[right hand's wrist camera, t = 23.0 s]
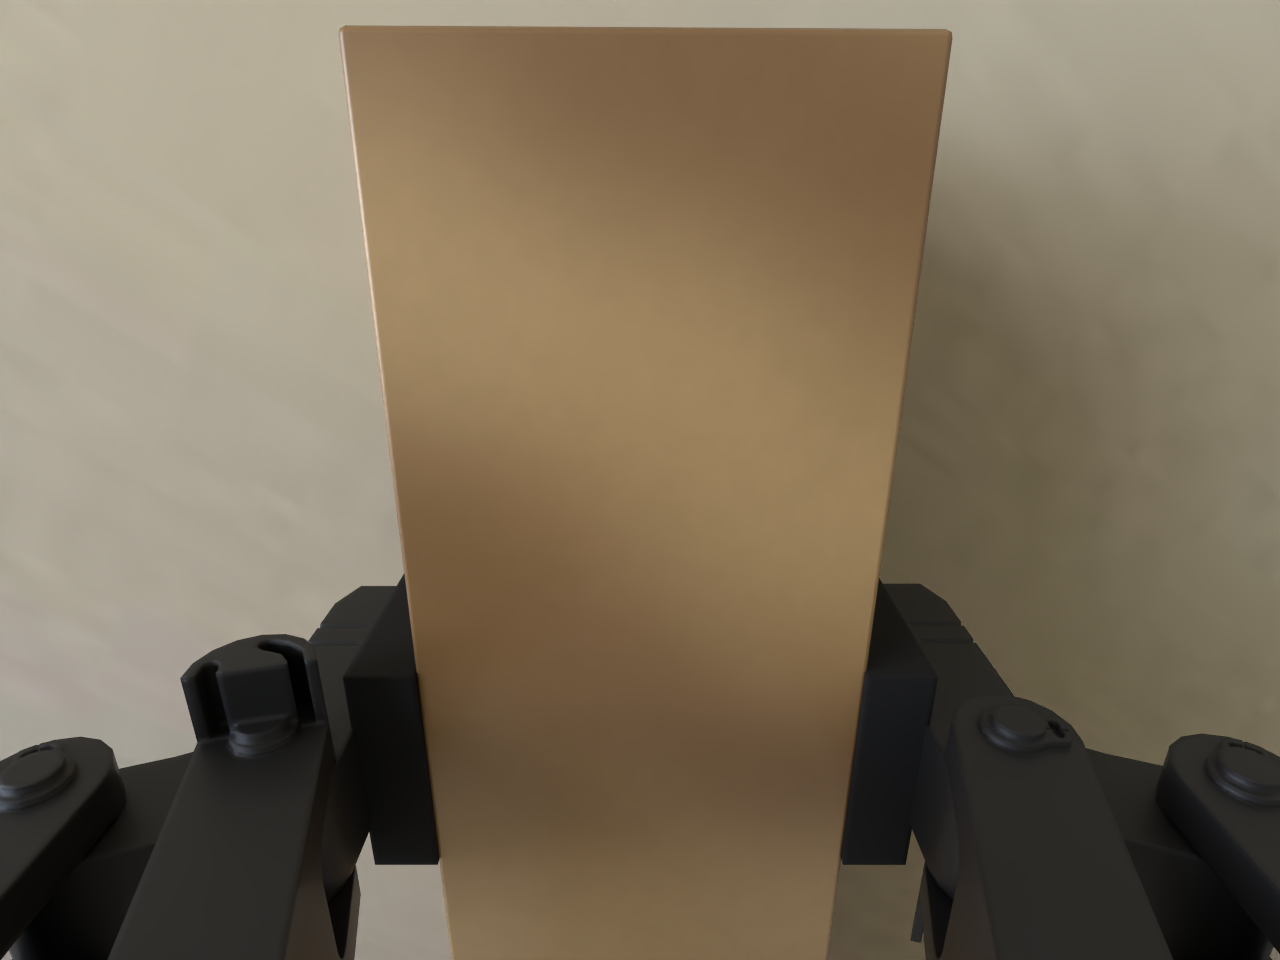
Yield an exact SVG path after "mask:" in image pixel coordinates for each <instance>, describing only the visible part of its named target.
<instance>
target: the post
mask: <svg viewBox="0 0 1280 960" xmlns="http://www.w3.org/2000/svg"><path fill="white" fill-rule="evenodd" d="M339 41H340V49H341V57H342V65H343V73H344V82H345V90H346V98H347V106H348V114H349V123H350V131H351V139H352V147H353V155H354V164H355V172H356V180H357V188H358V196H359V205H360V213H361V221H362V229H363V237H364V245H365V254H366V262H367V270H368V278H369V286H370V295H371V303H372V311H373V319H374V327H375V336H376V344H377V352H378V360H379V368H380V377H381V385H382V393H383V401H384V409H385V418H386V426H387V434H388V442H389V450H390V459H391V467H392V475H393V483H394V491H395V500H396V508H397V516H398V524H399V532H400V541H401V549H402V557H403V565H404V573H405V582H406V590H407V598H408V606H409V614H410V622H411V631H412V639H413V647H414V655H415V663H416V671H417V679H418V688H419V696H420V704H421V712H422V720H423V728H424V736H425V744H426V753H427V761H428V769H429V777H430V785H431V793H432V801H433V809H434V818H435V826H436V834H437V842H438V850H439V860H440V868H441V877H442V885H443V893H444V901H445V909H446V918H447V926H448V934H449V942H450V950H451V958H452V960H827V957H828V950H829V943H830V935H831V928H832V921H833V913H834V906H835V898H836V891H837V884H838V876H839V869H840V862H841V853H842V846H843V838H844V831H845V823H846V816H847V809H848V801H849V794H850V786H851V778H852V771H853V763H854V755H855V748H856V740H857V732H858V725H859V717H860V709H861V701H862V694H863V686H864V678H865V671H866V670H867V663H868V655H869V648H870V641H871V633H872V626H873V619H874V611H875V604H876V597H877V589H878V582H879V574H880V567H881V560H882V552H883V545H884V538H885V530H886V523H887V516H888V508H889V501H890V493H891V486H892V479H893V471H894V464H895V457H896V449H897V442H898V435H899V427H900V420H901V412H902V405H903V398H904V390H905V383H906V376H907V368H908V361H909V354H910V346H911V339H912V331H913V324H914V317H915V309H916V302H917V295H918V287H919V280H920V273H921V265H922V258H923V250H924V243H925V236H926V228H927V221H928V214H929V206H930V199H931V192H932V184H933V177H934V169H935V162H936V155H937V147H938V140H939V133H940V125H941V118H942V111H943V103H944V96H945V88H946V81H947V74H948V66H949V59H950V52H951V44H952V33H951V32H950V31H948V30H946V29H831V28H666V27H500V26H344V27H342V28H340V30H339Z"/></svg>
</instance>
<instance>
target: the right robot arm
mask: <svg viewBox="0 0 1280 960" xmlns="http://www.w3.org/2000/svg"><path fill="white" fill-rule="evenodd" d="M320 625H321V626H320V628H317V630H316V631H315V633H314V634H313V635H312V637H311V638H310V640H309V641H306V640H305V639H304V638H299V637H295V636H291V635H287V634H277V635H260V636H255V637H251V638H246V639H242V640H237V641H235V642H232V643H230V644H227V645H225V646H222V647H220V648H217V649H215V650H212V651H211V652H209V653H208V654H206V655H205V656H203V657H202V658H200V659H199V660H197V661H196V662H194V663H193V664H192V665H191V666H190V667H189V669H188V670H187V671H186V672H185V673H184V675H183V676H182V677H181V678H180V679H181V683H182V686H183V690H184V694H185V698H186V701H187V705H188V709H189V712H190V716H191V720H192V724H193V727H194V731H195V735H196V738H197V742H198V743H197V745H196V747H195V750H194V752H191V753H188V754H184V755H180V756H177V757H173V758H168V759H163V760H159V761H154V762H149V763H145V764H140V765H135V766H131V767H126V768H121V769H119V768H118V765H117V762H116V759H115V756H114V753H113V750H112V748H110V747H109V746H108V745H107V744H105V743H104V742H103V741H102V740H98V739H92V738H85V737H75V738H67V739H59V740H53V741H49V742H45V743H41V744H40V745H35V746H32V747H29V748H26V749H24V750H21V751H19V752H18V753H16V754H14V755H12V756H10V757H8V758H6V759H4V760H2V761H0V960H1V959H2V958H3V957H4V955H5V954H6V953H7V952H8V950H9V952H10V954H11V956H12V958H13V959H12V960H354V956H355V946H356V936H357V926H358V916H359V906H360V896H361V894H360V887H359V881H358V875H357V870H356V862H357V860H358V857H359V855H360V852H361V850H362V847H363V845H364V843H365V840H366V838H367V835H368V833H369V832H370V838H371V844H372V849H373V855H374V861H375V865H438V862H439V850H438V842H437V834H436V826H435V818H434V809H433V801H432V793H431V785H430V777H429V769H428V761H427V753H426V744H425V736H424V728H423V720H422V712H421V704H420V696H419V688H418V679H417V671H416V663H415V655H414V647H413V639H412V631H411V622H410V614H409V606H408V598H407V590H406V582H405V573H404V575H403V576H402V578H401V580H400V581H399V583H398V585H397V586H361V587H359V588H358V589H356V590H355V591H353V592H352V593H350V594H349V595H347V596H346V597H344V598H343V599H341V600H340V601H338V602H337V603H335V605H334V606H333V607H332V609H331V610H330V612H329V613H328V614H327V616H326V617H325V619H324V620H323V621H322V623H321V624H320ZM912 830H913V832H914V835H915V837H916V840H917V842H918V844H919V847H920V849H921V852H922V854H923V856H924V859H925V864H924V870H923V875H922V880H921V886H920V891H919V896H918V902H917V907H916V912H915V918H914V923H913V929H912V936H911V941H915V942H920V943H921V939H922V933H923V934H924V944H925V954H926V960H1272V959H1271V958H1270V954H1271V952H1272V949H1273V947H1275V949H1276V950H1277V951H1278V952H1279V954H1280V757H1279V756H1277V755H1275V754H1273V753H1271V752H1269V751H1267V750H1265V749H1263V748H1261V747H1259V746H1256V745H1254V744H1251V743H1248V742H1243V741H1242V740H1238V739H1233V738H1230V737H1224V736H1216V735H1208V734H1196V735H1190V736H1183V737H1180V738H1179V739H1178V740H1176V741H1175V742H1174V743H1173V744H1171V745H1170V747H1169V750H1168V753H1167V756H1166V759H1165V762H1164V765H1163V766H1160V765H1156V764H1151V763H1146V762H1142V761H1137V760H1132V759H1128V758H1123V757H1118V756H1114V755H1109V754H1105V753H1101V752H1097V751H1094V750H1090V749H1087V748H1085V746H1084V744H1083V741H1082V740H1081V739H1080V737H1079V736H1078V734H1077V733H1076V731H1075V730H1074V729H1073V727H1072V726H1071V725H1070V724H1069V723H1067V722H1066V721H1065V720H1063V719H1062V718H1061V717H1060V716H1058V715H1057V714H1056V713H1054V712H1053V711H1051V710H1049V709H1047V708H1045V707H1043V706H1040V705H1038V704H1036V703H1034V702H1032V701H1030V700H1026V699H1022V698H1018V697H1014V695H1013V694H1012V692H1011V691H1010V690H1009V688H1008V687H1007V685H1006V684H1005V683H1004V681H1003V680H1002V678H1001V677H1000V676H999V674H998V673H997V672H996V670H995V669H994V667H993V666H992V665H991V663H990V662H989V660H988V659H987V658H986V656H985V655H984V653H983V652H982V651H981V649H980V648H979V646H978V645H977V644H976V643H973V638H972V637H971V635H970V634H969V633H968V631H967V630H966V628H965V627H964V626H961V621H960V620H959V619H958V617H957V616H956V615H955V613H954V612H953V610H952V609H951V608H950V606H949V605H948V603H947V602H946V601H945V600H943V599H942V598H940V597H939V596H937V595H936V594H934V593H933V592H931V591H930V590H928V589H927V588H925V587H924V586H922V585H921V584H882V582H881V580H880V579H879V582H878V589H877V597H876V604H875V611H874V619H873V626H872V633H871V641H870V648H869V655H868V663H867V670H866V671H865V678H864V686H863V694H862V701H861V709H860V717H859V725H858V732H857V740H856V748H855V755H854V763H853V771H852V778H851V786H850V794H849V801H848V809H847V816H846V823H845V831H844V838H843V846H842V853H841V859H842V863H843V865H906V859H907V854H908V848H909V842H910V836H911V831H912Z"/></svg>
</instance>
